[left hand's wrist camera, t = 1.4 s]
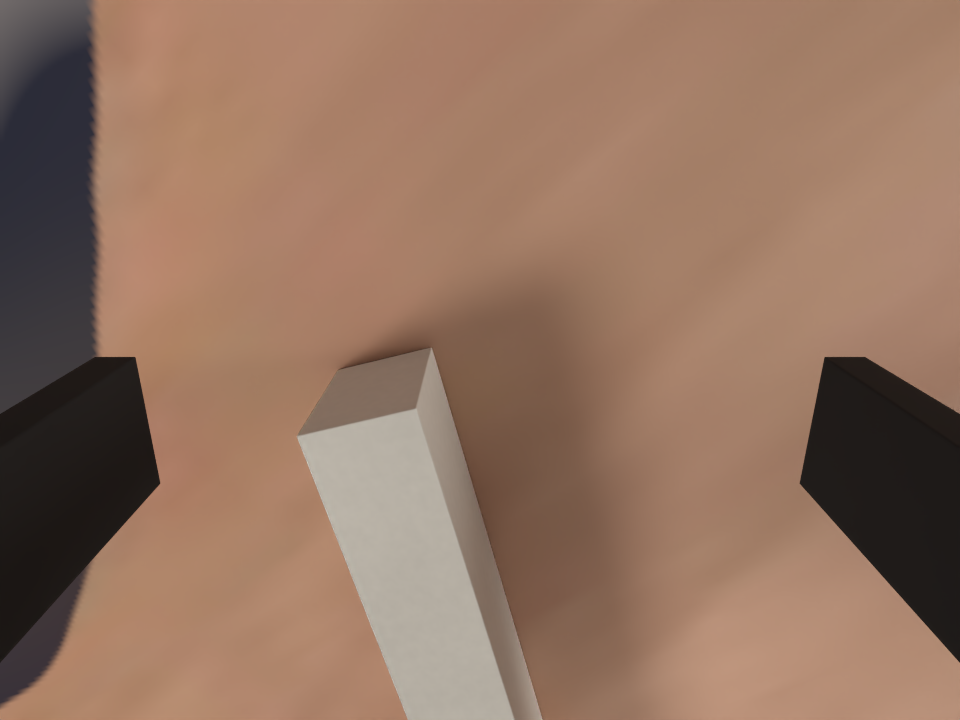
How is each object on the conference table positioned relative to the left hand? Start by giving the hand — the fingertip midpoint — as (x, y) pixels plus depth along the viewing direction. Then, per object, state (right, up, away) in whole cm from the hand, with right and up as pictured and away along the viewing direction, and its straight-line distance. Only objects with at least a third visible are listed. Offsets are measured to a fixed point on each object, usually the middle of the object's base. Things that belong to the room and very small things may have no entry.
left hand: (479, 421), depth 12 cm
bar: (+3, -27, +30) cm, 41 cm away
